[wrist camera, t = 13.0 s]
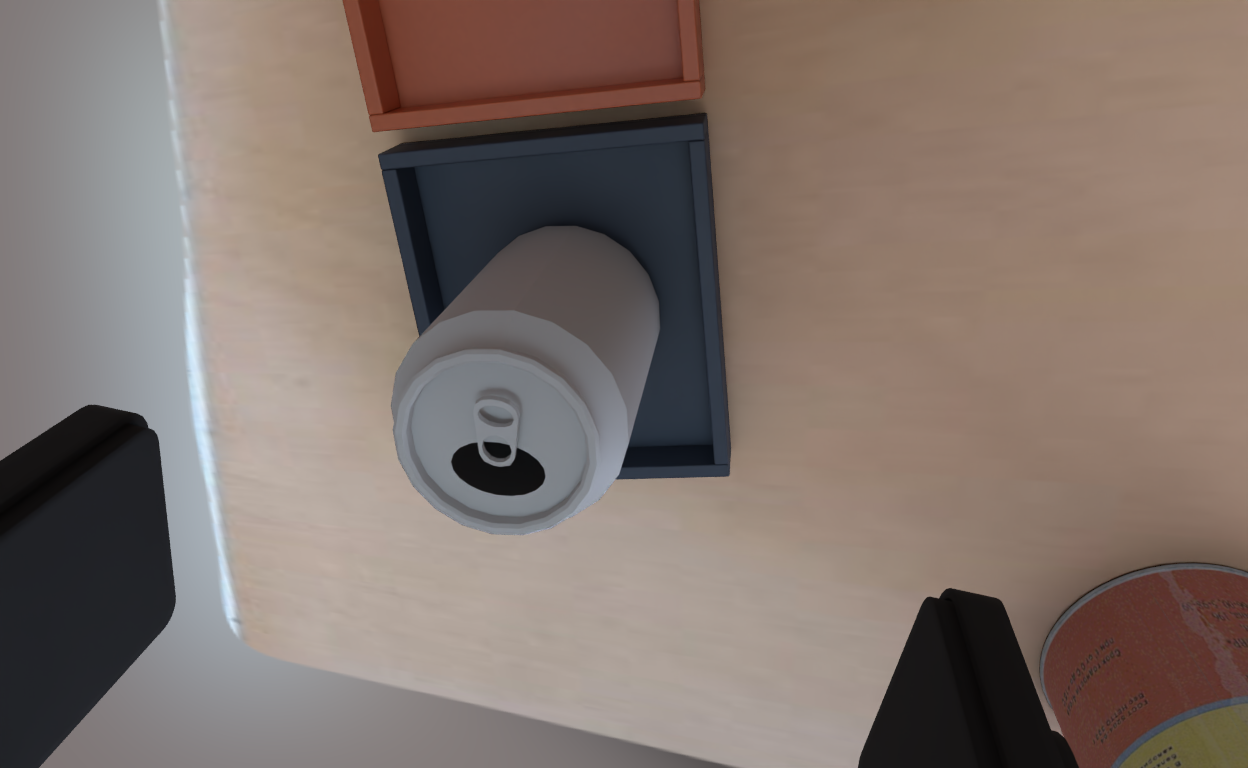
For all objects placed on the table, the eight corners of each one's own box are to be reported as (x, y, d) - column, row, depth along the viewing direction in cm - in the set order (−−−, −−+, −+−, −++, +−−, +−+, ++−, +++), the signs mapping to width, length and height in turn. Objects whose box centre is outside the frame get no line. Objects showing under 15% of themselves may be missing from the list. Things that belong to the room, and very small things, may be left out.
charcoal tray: (400, 143, 34) (376, 154, 32) (707, 112, 32) (703, 122, 30) (468, 457, 40) (452, 484, 38) (731, 448, 38) (729, 477, 36)
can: (482, 375, 38) (372, 535, 27) (487, 207, 34) (364, 312, 24) (651, 401, 37) (608, 576, 26) (673, 232, 34) (634, 352, 23)
